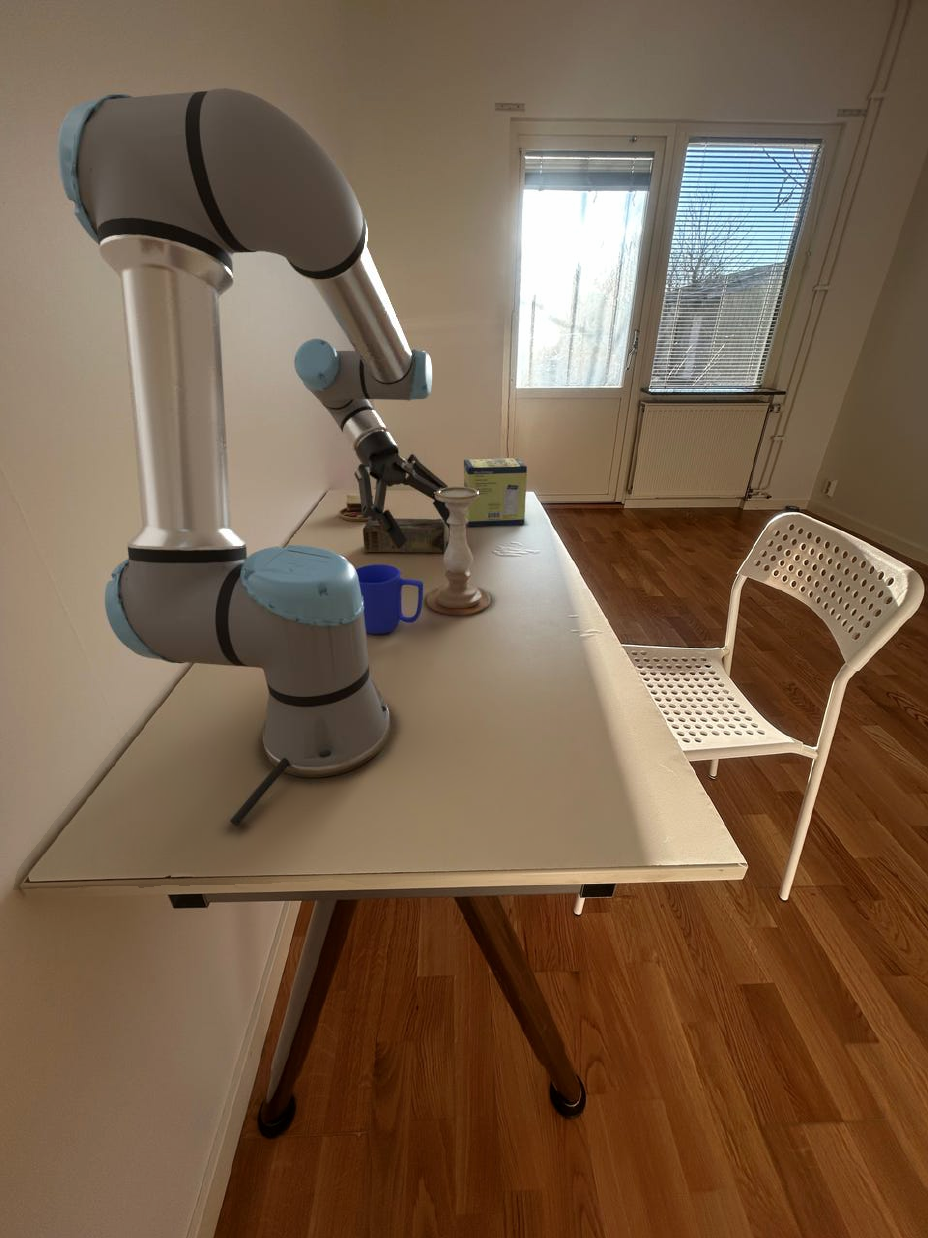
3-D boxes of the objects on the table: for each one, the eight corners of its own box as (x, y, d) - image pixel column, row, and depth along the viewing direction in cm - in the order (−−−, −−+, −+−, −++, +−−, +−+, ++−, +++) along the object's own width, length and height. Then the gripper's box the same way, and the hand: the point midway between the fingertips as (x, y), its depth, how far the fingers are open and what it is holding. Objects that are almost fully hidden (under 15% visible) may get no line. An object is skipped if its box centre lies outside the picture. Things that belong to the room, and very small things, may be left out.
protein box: (463, 515, 145) (463, 458, 138) (517, 513, 146) (520, 457, 139) (467, 527, 136) (467, 467, 128) (525, 525, 137) (528, 465, 130)
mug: (418, 643, 84) (415, 587, 79) (348, 636, 86) (341, 581, 81) (431, 620, 91) (429, 567, 86) (366, 613, 93) (360, 562, 88)
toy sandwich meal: (333, 522, 140) (331, 505, 138) (345, 508, 152) (343, 492, 150) (379, 522, 140) (377, 505, 138) (387, 508, 152) (386, 492, 149)
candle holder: (434, 590, 101) (430, 486, 91) (478, 588, 101) (479, 484, 92) (436, 610, 93) (432, 499, 83) (484, 608, 94) (486, 497, 84)
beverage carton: (446, 554, 119) (445, 526, 116) (363, 554, 119) (360, 526, 116) (447, 542, 126) (446, 515, 123) (369, 542, 126) (366, 516, 123)
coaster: (468, 621, 90) (468, 619, 90) (413, 605, 96) (413, 603, 96) (501, 596, 99) (501, 594, 99) (450, 582, 105) (450, 581, 104)
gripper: (411, 446, 109) (464, 529, 107) (309, 464, 92) (369, 563, 91) (427, 421, 103) (483, 509, 101) (322, 437, 87) (386, 541, 85)
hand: (429, 535), depth 96 cm, fingers open, 13 cm apart
